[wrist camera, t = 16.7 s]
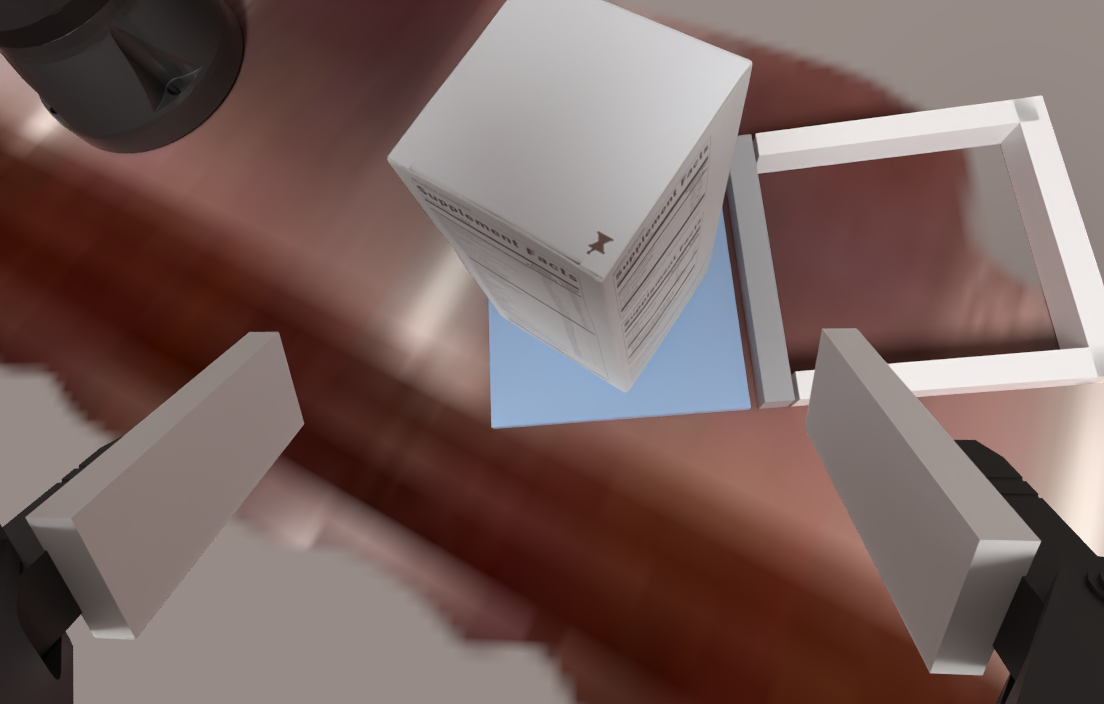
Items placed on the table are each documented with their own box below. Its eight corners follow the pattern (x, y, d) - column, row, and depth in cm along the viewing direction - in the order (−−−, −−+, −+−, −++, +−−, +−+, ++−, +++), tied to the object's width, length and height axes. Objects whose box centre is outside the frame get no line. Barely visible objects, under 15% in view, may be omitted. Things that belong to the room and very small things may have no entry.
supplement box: (713, 267, 35) (770, 58, 19) (628, 398, 34) (613, 290, 18) (577, 195, 38) (528, -43, 22) (494, 314, 37) (375, 154, 21)
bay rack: (487, 186, 40) (479, 169, 38) (1020, 118, 36) (1042, 95, 34) (494, 428, 35) (485, 423, 33) (1102, 382, 31) (1132, 374, 29)
